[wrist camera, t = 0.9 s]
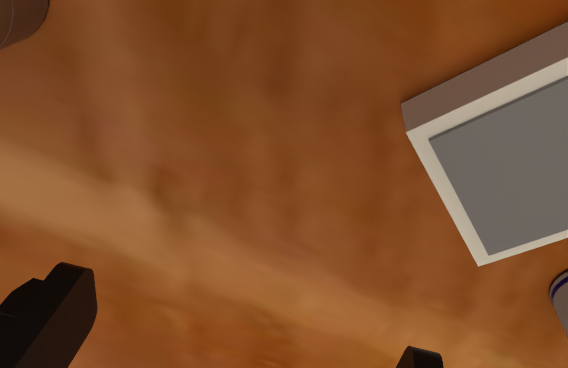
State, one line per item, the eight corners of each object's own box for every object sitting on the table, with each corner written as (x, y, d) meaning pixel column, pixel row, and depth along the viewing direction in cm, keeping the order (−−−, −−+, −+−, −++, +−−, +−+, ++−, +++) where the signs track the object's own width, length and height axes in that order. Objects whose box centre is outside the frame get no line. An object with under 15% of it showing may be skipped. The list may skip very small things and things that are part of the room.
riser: (466, 227, 37) (479, 270, 33) (400, 103, 32) (406, 135, 28) (636, 166, 32) (677, 206, 28) (588, 11, 28) (628, 32, 23)
